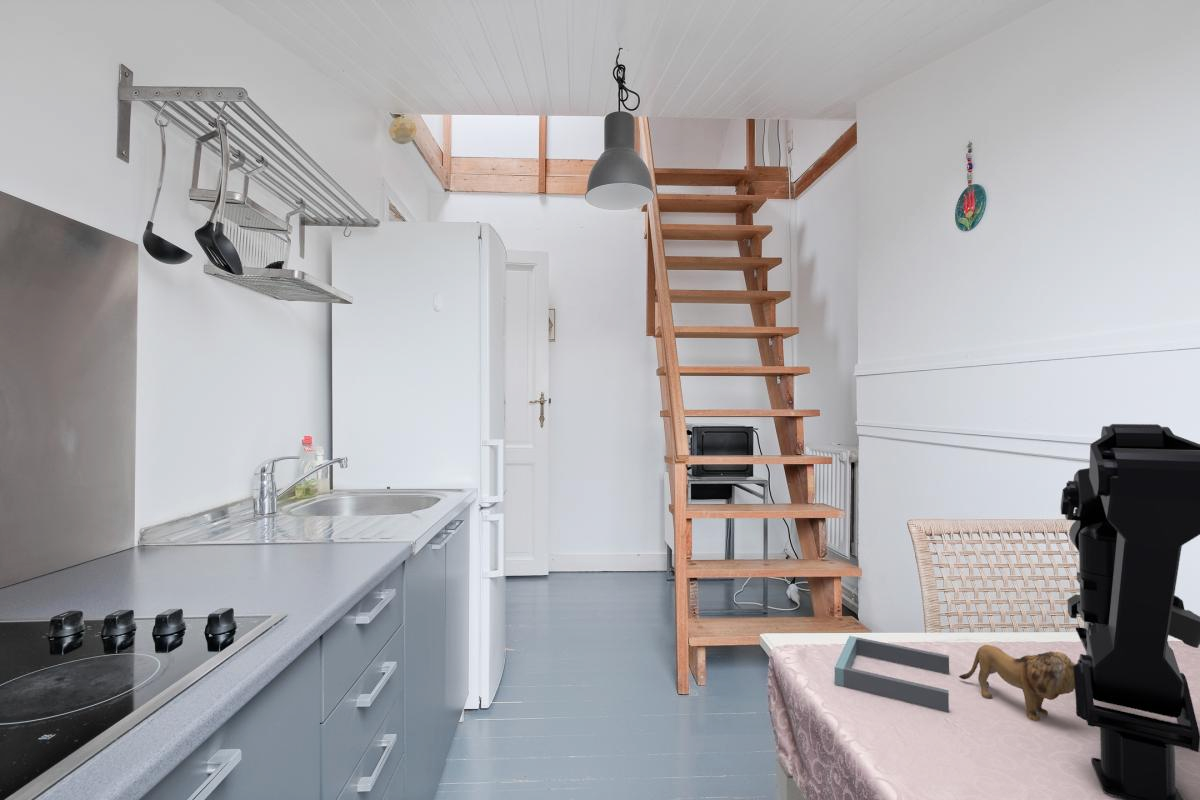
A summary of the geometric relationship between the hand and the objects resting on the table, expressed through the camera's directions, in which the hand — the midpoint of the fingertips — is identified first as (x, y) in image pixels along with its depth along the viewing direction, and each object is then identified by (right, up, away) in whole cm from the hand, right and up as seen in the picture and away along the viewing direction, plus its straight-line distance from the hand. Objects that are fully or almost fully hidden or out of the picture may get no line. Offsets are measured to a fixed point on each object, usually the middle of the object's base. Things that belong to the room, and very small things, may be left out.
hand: (1111, 695), depth 71 cm
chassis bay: (-21, -4, +13) cm, 25 cm away
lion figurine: (-8, -4, +5) cm, 10 cm away
